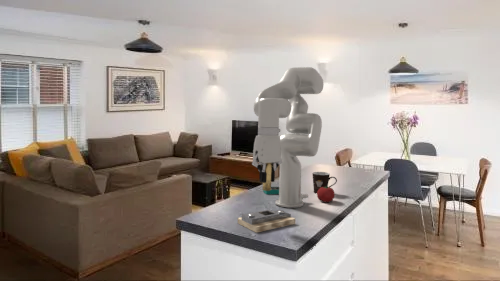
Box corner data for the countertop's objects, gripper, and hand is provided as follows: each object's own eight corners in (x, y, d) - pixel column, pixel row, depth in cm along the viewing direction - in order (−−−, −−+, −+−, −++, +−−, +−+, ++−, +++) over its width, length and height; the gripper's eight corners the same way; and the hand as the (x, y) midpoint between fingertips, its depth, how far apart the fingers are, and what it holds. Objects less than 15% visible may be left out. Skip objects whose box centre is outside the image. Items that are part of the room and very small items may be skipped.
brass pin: (267, 188, 140) (268, 162, 139) (272, 190, 138) (273, 163, 137) (260, 189, 138) (261, 162, 138) (265, 191, 136) (266, 163, 135)
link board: (275, 215, 150) (275, 210, 150) (295, 223, 140) (295, 218, 140) (237, 223, 140) (237, 218, 139) (256, 232, 130) (256, 227, 130)
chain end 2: (279, 212, 147) (279, 208, 147) (290, 216, 142) (290, 212, 142) (253, 217, 140) (253, 213, 140) (263, 222, 135) (263, 218, 135)
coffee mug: (308, 192, 190) (308, 173, 189) (318, 189, 196) (319, 171, 195) (327, 196, 181) (327, 176, 180) (337, 194, 187) (338, 174, 186)
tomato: (314, 199, 176) (314, 184, 175) (329, 198, 178) (329, 183, 178) (323, 204, 168) (323, 188, 167) (338, 202, 171) (339, 187, 170)
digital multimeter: (294, 194, 187) (294, 188, 187) (266, 195, 184) (266, 189, 184) (289, 191, 194) (290, 185, 194) (262, 192, 191) (262, 186, 191)
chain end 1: (269, 214, 144) (269, 207, 144) (280, 219, 139) (280, 212, 139) (241, 219, 137) (241, 213, 137) (251, 224, 132) (252, 217, 132)
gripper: (279, 131, 144) (277, 178, 146) (243, 131, 135) (242, 182, 136) (292, 132, 138) (290, 181, 139) (255, 133, 129) (254, 185, 130)
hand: (267, 181), depth 138 cm, fingers closed on brass pin, 3 cm apart
